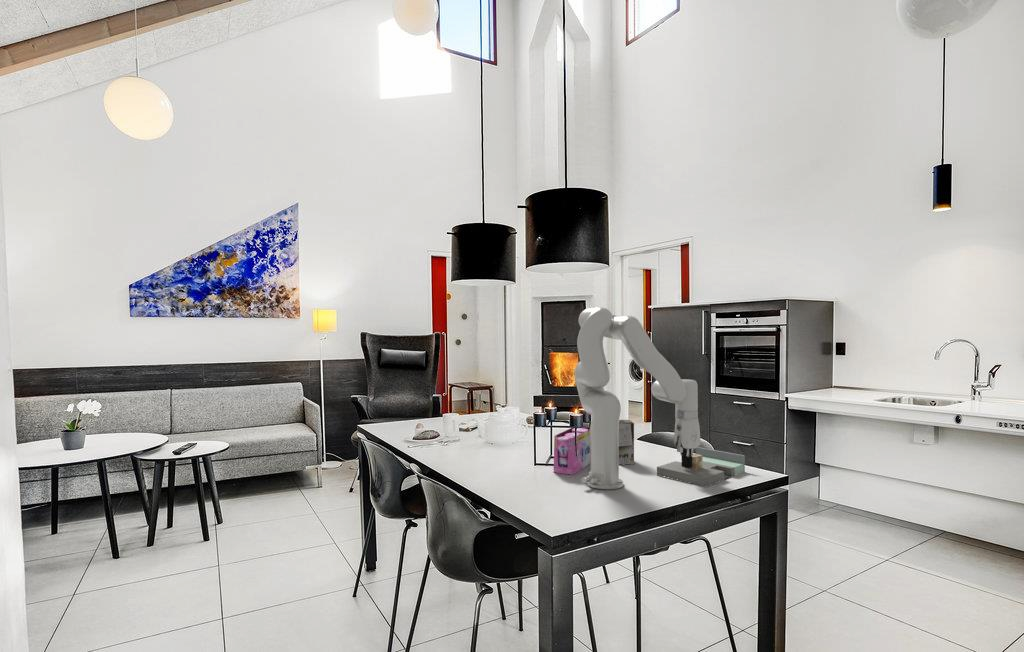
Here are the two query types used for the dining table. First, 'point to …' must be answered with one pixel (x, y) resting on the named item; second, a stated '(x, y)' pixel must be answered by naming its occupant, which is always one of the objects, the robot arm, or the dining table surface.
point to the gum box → (571, 450)
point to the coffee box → (626, 442)
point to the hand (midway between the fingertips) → (686, 466)
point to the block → (696, 462)
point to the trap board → (706, 467)
